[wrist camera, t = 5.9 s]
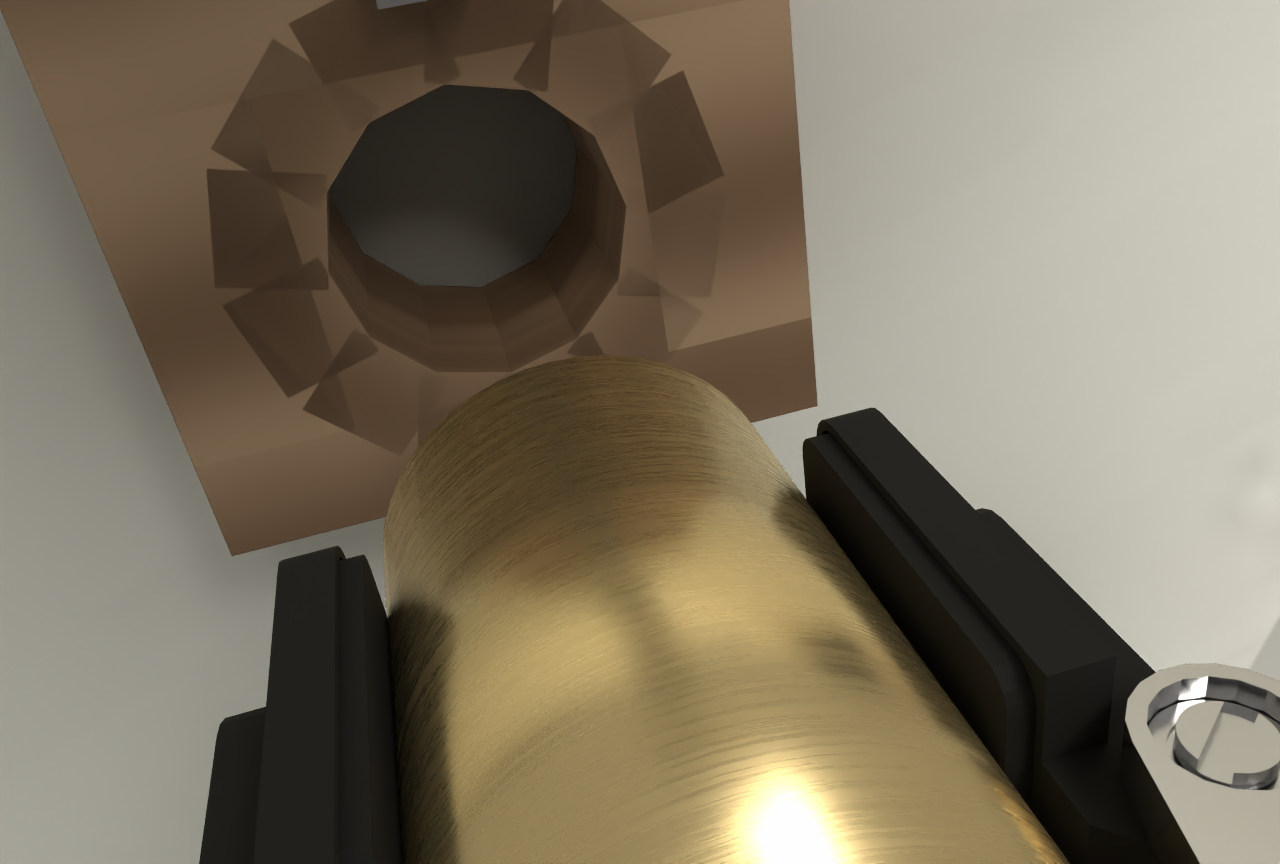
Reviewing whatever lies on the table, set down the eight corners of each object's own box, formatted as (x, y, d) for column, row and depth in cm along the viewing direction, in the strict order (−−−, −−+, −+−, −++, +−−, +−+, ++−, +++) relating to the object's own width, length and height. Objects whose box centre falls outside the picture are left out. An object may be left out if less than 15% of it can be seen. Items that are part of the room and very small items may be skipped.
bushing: (330, 414, 10) (321, 1180, 4) (758, 311, 11) (1260, 858, 5) (438, 736, 13) (529, 1541, 7) (789, 636, 13) (1167, 1287, 7)
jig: (-113, -491, 18) (-290, -623, 13) (650, -582, 19) (758, -730, 14) (248, 442, 27) (228, 578, 22) (745, 321, 28) (831, 421, 23)
